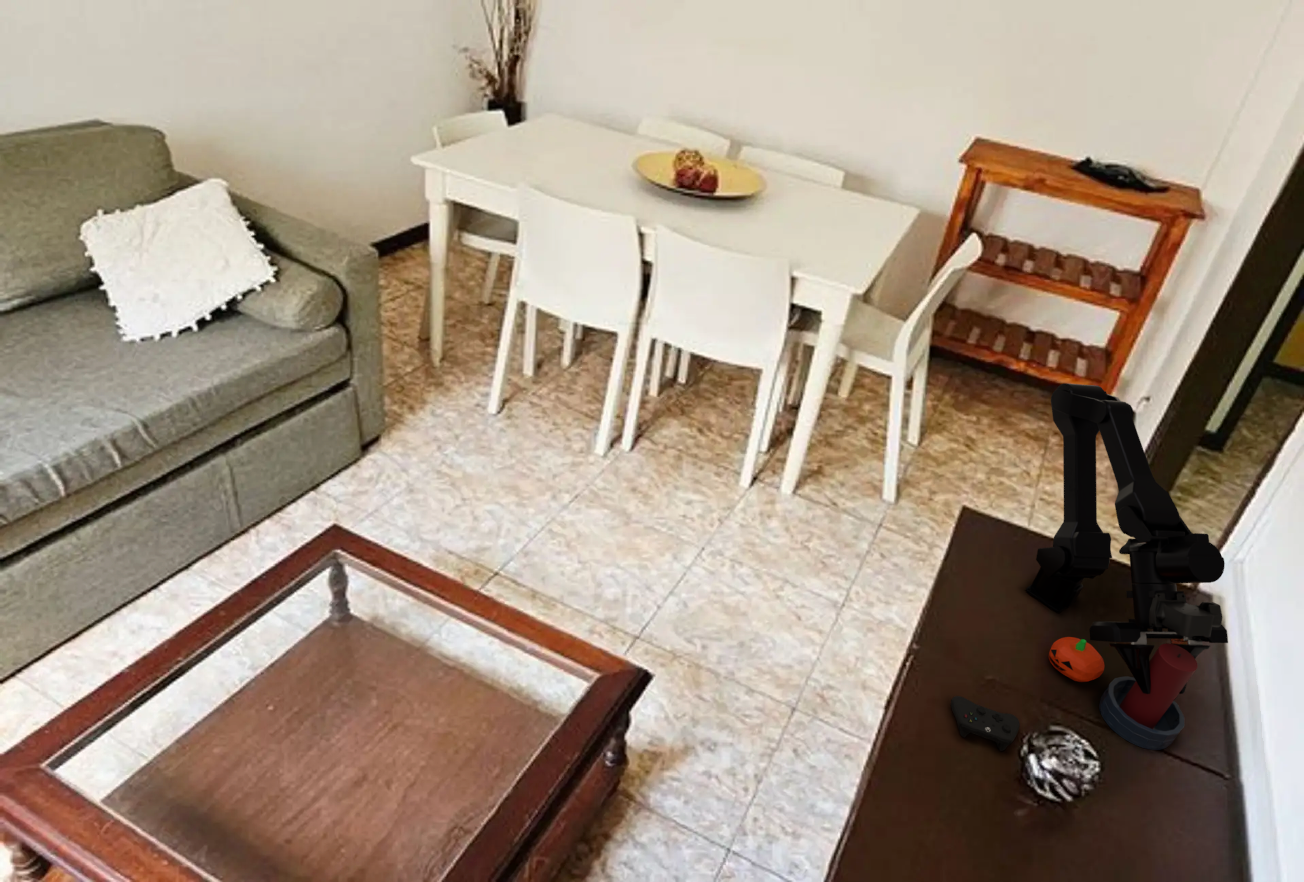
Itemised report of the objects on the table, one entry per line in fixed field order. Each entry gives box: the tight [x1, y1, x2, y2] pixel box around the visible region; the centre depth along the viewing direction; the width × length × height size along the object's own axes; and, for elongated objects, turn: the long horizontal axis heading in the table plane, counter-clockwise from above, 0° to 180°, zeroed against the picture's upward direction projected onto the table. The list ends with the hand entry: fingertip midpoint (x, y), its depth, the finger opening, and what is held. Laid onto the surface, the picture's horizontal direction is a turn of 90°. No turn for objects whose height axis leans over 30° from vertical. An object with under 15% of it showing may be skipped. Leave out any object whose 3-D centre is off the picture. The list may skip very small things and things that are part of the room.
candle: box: [1119, 642, 1199, 729], centre depth 127 cm, size 5×5×14 cm
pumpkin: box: [1048, 636, 1105, 683], centre depth 136 cm, size 7×8×6 cm
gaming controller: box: [950, 695, 1021, 752], centre depth 124 cm, size 10×5×6 cm
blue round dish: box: [1098, 675, 1185, 751], centre depth 130 cm, size 11×11×4 cm
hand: (1163, 693), depth 126 cm, fingers closed on candle, 5 cm apart
